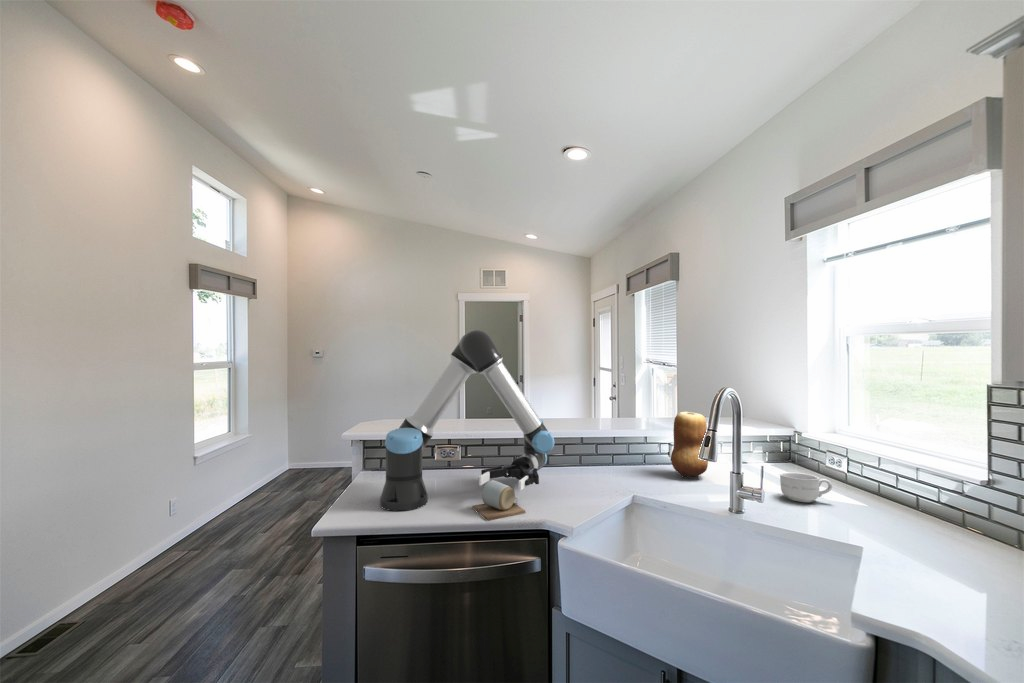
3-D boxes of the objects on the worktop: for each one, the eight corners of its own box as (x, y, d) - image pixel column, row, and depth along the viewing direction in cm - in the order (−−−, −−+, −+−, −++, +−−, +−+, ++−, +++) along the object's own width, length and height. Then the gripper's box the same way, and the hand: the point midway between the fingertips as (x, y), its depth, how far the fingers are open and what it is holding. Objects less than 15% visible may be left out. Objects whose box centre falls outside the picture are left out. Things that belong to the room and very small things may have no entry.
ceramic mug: (500, 514, 127) (500, 487, 128) (481, 507, 133) (481, 482, 133) (523, 505, 135) (523, 480, 136) (504, 499, 141) (504, 475, 141)
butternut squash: (708, 483, 158) (706, 415, 159) (669, 479, 164) (668, 413, 165) (708, 474, 171) (707, 410, 171) (672, 470, 176) (671, 409, 177)
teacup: (776, 500, 140) (776, 475, 140) (784, 492, 148) (783, 468, 148) (829, 510, 130) (828, 483, 131) (834, 501, 138) (833, 476, 139)
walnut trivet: (472, 508, 135) (472, 505, 135) (508, 501, 141) (508, 499, 141) (487, 520, 125) (487, 517, 125) (525, 513, 130) (525, 510, 130)
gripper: (558, 481, 147) (537, 500, 128) (492, 474, 157) (463, 491, 137) (558, 459, 147) (537, 475, 128) (492, 453, 157) (463, 467, 138)
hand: (499, 483), depth 133 cm, fingers open, 13 cm apart
